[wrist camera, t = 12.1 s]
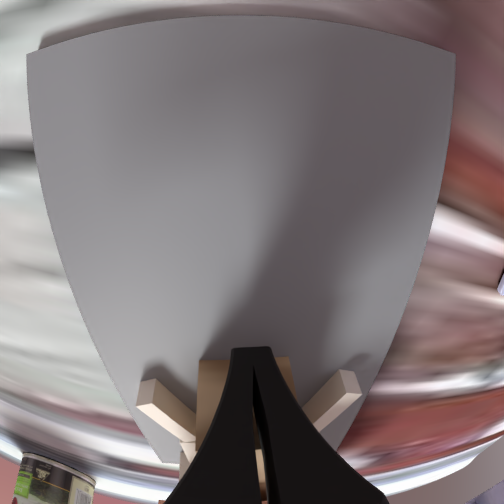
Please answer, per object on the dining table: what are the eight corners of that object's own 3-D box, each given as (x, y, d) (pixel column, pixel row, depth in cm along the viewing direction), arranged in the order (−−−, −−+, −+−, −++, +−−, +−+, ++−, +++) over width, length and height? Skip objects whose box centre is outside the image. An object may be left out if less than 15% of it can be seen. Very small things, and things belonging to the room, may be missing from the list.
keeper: (445, 53, 8) (602, 79, 2) (333, 447, 22) (348, 515, 16) (36, 54, 7) (-122, 76, 1) (162, 456, 21) (158, 526, 15)
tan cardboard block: (288, 356, 14) (306, 444, 10) (274, 443, 19) (282, 500, 15) (198, 360, 13) (195, 451, 9) (216, 446, 18) (218, 504, 15)
